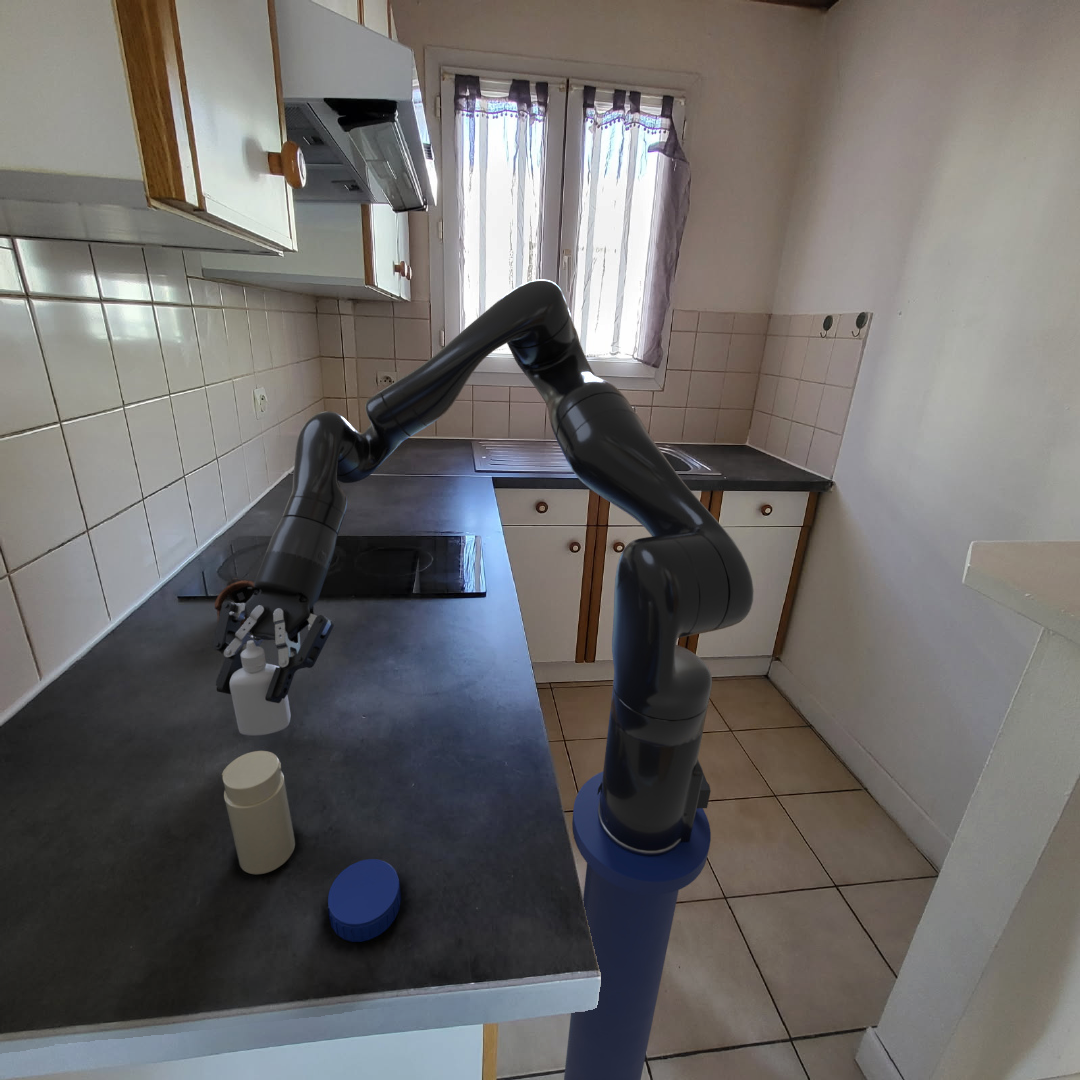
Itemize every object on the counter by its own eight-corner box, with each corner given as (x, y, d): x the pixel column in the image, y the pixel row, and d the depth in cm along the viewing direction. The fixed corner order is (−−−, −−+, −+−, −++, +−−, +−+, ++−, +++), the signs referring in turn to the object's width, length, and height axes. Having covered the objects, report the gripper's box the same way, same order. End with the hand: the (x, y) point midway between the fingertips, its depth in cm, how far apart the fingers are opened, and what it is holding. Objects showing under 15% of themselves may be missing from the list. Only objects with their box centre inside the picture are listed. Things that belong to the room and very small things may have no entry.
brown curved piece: (298, 619, 95) (277, 594, 89) (249, 658, 91) (223, 634, 85) (263, 582, 101) (240, 555, 94) (215, 617, 97) (188, 591, 90)
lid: (316, 908, 50) (314, 890, 49) (376, 863, 54) (375, 846, 53) (353, 959, 46) (351, 940, 45) (414, 906, 50) (413, 888, 49)
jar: (300, 826, 57) (287, 746, 53) (288, 871, 53) (272, 787, 49) (248, 831, 56) (231, 751, 52) (231, 878, 52) (210, 793, 48)
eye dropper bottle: (258, 710, 70) (242, 627, 65) (297, 718, 69) (284, 635, 64) (232, 733, 66) (214, 648, 61) (274, 743, 65) (258, 656, 60)
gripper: (362, 577, 72) (320, 712, 66) (264, 563, 74) (214, 691, 68) (336, 556, 65) (286, 704, 59) (228, 542, 68) (170, 681, 61)
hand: (248, 696), depth 64 cm, fingers closed on eye dropper bottle, 5 cm apart
